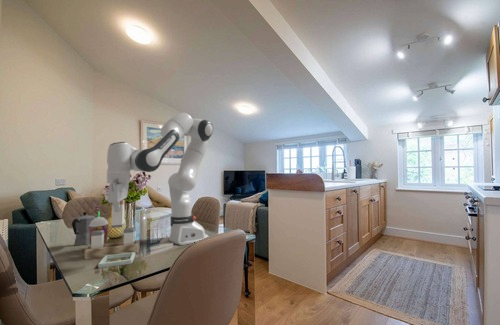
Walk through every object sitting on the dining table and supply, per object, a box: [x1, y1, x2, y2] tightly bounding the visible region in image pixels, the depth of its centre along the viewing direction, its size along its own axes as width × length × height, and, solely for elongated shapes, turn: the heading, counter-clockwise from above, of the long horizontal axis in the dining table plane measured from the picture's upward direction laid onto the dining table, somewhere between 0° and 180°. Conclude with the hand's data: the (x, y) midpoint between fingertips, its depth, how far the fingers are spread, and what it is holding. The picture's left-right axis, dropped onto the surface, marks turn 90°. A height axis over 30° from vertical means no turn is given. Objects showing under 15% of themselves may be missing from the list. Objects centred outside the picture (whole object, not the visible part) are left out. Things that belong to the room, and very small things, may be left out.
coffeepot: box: [71, 211, 96, 247], centre depth 124 cm, size 15×9×18 cm, turn 1°
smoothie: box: [89, 210, 109, 246], centre depth 114 cm, size 8×8×20 cm
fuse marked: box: [110, 199, 126, 229], centre depth 98 cm, size 4×4×11 cm
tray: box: [97, 252, 136, 269], centre depth 97 cm, size 12×10×3 cm
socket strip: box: [84, 240, 140, 261], centre depth 107 cm, size 21×7×6 cm, turn 109°
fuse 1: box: [91, 230, 104, 249], centre depth 105 cm, size 4×4×11 cm
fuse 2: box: [123, 226, 136, 245], centre depth 109 cm, size 4×4×11 cm
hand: (118, 210), depth 98 cm, fingers closed on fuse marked, 4 cm apart
